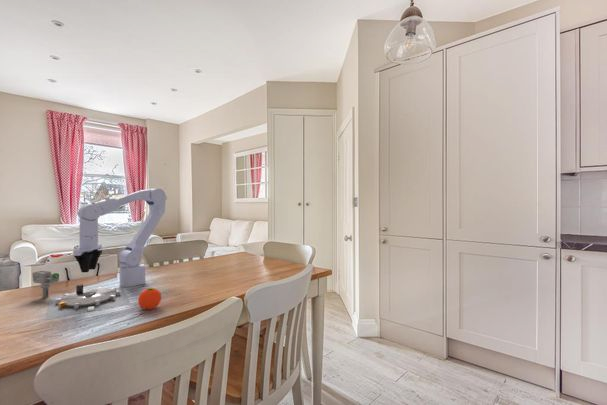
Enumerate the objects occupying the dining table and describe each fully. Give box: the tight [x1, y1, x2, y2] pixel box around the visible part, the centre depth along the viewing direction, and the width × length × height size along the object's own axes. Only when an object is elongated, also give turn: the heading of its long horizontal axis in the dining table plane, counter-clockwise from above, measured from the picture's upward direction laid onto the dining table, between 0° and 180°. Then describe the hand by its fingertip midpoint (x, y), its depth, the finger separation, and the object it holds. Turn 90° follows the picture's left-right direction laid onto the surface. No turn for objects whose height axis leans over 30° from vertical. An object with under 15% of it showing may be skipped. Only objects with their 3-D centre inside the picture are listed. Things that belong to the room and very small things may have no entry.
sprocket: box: [55, 283, 120, 309], centre depth 101 cm, size 18×19×4 cm
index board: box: [44, 286, 131, 321], centre depth 100 cm, size 22×24×2 cm
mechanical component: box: [31, 270, 60, 298], centre depth 103 cm, size 3×10×10 cm, turn 79°
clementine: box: [138, 287, 162, 310], centre depth 96 cm, size 8×7×7 cm
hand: (88, 270), depth 108 cm, fingers open, 4 cm apart
